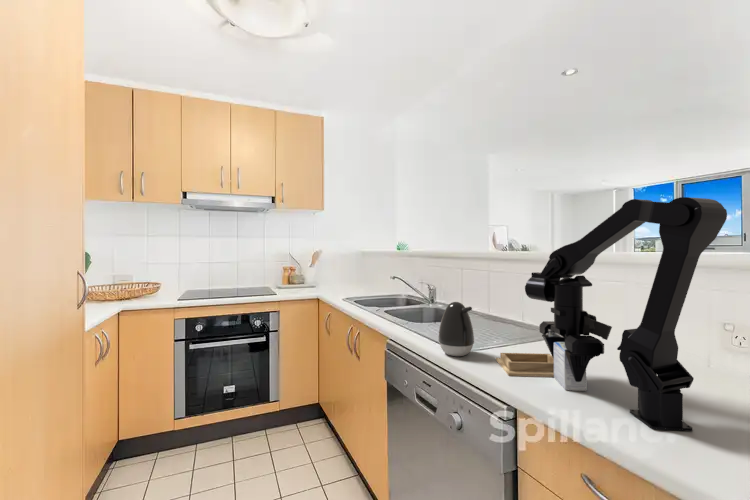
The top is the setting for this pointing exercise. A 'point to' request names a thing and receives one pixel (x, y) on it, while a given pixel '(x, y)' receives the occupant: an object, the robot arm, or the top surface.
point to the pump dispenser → (456, 330)
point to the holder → (527, 364)
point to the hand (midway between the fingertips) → (568, 373)
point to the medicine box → (566, 370)
